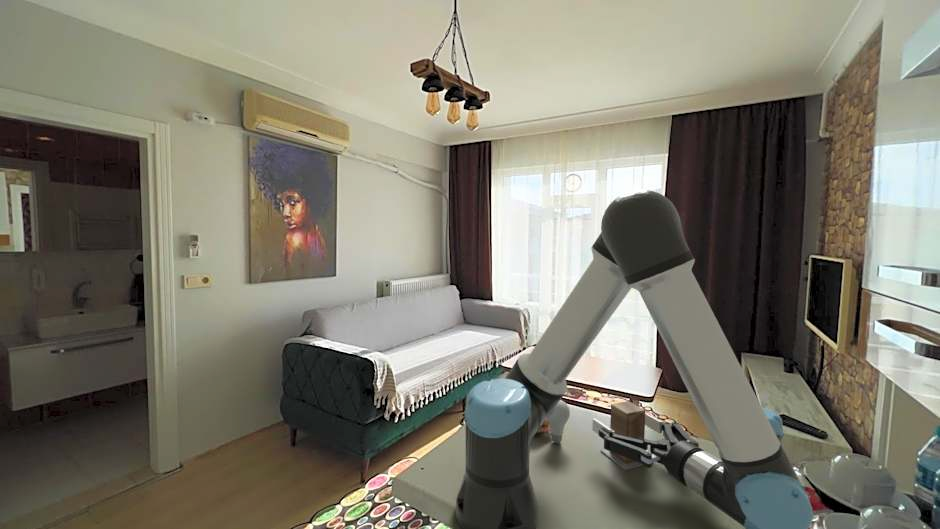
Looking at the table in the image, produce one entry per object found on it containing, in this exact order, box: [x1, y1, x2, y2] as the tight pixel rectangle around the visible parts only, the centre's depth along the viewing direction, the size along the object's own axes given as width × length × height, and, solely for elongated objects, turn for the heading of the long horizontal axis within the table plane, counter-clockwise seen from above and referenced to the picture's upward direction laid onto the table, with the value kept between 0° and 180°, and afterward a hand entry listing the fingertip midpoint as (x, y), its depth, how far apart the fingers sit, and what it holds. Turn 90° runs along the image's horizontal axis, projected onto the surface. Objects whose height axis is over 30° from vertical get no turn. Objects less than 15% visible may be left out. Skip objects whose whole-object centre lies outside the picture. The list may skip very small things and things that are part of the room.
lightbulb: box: [547, 399, 571, 444], centre depth 96 cm, size 6×6×11 cm
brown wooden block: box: [609, 400, 646, 464], centre depth 89 cm, size 5×5×12 cm
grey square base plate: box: [600, 448, 644, 471], centre depth 90 cm, size 8×8×7 cm
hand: (617, 419), depth 92 cm, fingers open, 13 cm apart
